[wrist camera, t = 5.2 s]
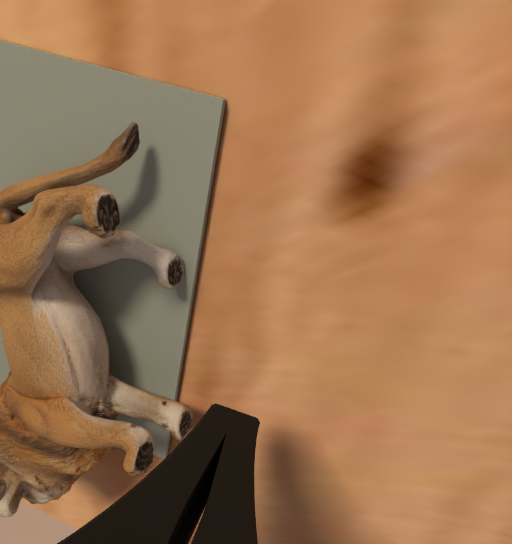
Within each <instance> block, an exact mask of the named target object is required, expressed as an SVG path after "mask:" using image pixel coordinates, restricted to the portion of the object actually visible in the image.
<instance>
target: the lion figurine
mask: <svg viewBox="0 0 512 544" xmlns="http://www.w3.org/2000/svg"><path fill="white" fill-rule="evenodd" d="M139 144H140V139H139V130H138V124H137V123H135V122H131V123H130V125H129V126H128V128H127V129H126V130H125V131H124V132H123V133H122V134H121V135H120V136H119V137H117V138H116V139H115V140H114V141H113V142H112V144H111V145H110V146H109V148H108V149H107V150H106V151H105V152H104V153H103V154H101V155H100V156H98V157H96V158H95V159H93V160H91V161H89V162H87V163H86V164H83V165H80V166H77V167H74V168H70V169H66V170H62V171H58V172H54V173H50V174H46V175H42V176H38V177H34V178H31V179H28V180H25V181H22V182H19V183H16V184H14V185H11V186H9V187H6V188H5V189H3V190H2V191H0V326H1V330H2V336H3V345H4V349H5V352H6V356H7V360H8V363H9V367H10V372H9V374H8V378H7V379H6V380H5V381H4V382H3V383H2V384H1V386H0V516H1V517H10V516H13V515H14V514H15V513H16V512H17V509H18V506H19V503H20V500H21V499H22V498H25V499H27V500H28V501H29V502H30V503H32V504H36V503H39V504H45V503H47V502H49V501H51V500H57V499H59V498H60V497H61V496H62V495H63V494H65V493H67V492H68V491H69V490H70V489H71V486H72V484H73V483H74V482H75V481H76V480H77V479H78V478H79V477H80V476H81V475H82V474H83V473H86V472H87V471H89V470H90V469H92V468H93V467H94V466H95V465H96V464H98V463H100V462H101V460H102V459H103V458H104V457H105V455H106V454H108V453H110V451H111V449H112V448H119V449H122V450H124V451H125V452H126V455H125V459H124V462H123V468H124V470H125V471H126V472H127V473H128V474H129V475H130V476H137V475H139V474H142V473H145V472H146V471H147V469H148V467H149V466H150V464H151V462H152V459H153V451H154V444H153V438H152V436H151V434H150V432H149V431H148V430H147V429H145V428H143V427H141V426H138V425H134V424H132V423H128V422H124V421H117V420H116V417H117V415H124V416H127V417H133V418H143V419H149V420H151V421H153V422H155V423H156V424H157V425H158V426H160V427H161V428H162V429H164V430H166V431H169V432H171V435H172V437H173V438H174V439H175V440H181V439H183V438H184V437H185V436H186V435H187V434H188V433H189V430H190V428H191V426H192V421H193V412H192V410H191V408H189V407H188V406H186V405H184V404H182V403H179V402H177V401H174V400H171V399H167V398H164V397H160V396H157V395H154V394H151V393H149V392H146V391H143V390H141V389H139V388H136V387H134V386H131V385H129V384H127V383H125V382H123V381H121V380H119V379H117V378H116V377H114V376H112V375H110V374H109V349H108V343H107V338H106V334H105V332H104V329H103V326H102V323H101V320H100V318H99V317H98V315H97V314H96V313H95V311H94V310H93V308H92V307H91V305H90V304H89V303H88V301H87V300H86V299H85V297H84V296H83V295H82V294H81V293H80V291H79V290H78V289H77V288H76V286H75V284H74V281H73V274H74V273H75V272H77V271H79V270H85V269H91V268H95V267H98V266H101V265H104V264H107V263H109V262H112V261H115V260H118V259H123V258H129V259H135V260H139V261H141V262H144V263H146V264H148V265H149V266H151V267H152V268H153V270H154V271H155V274H156V278H157V282H158V284H159V285H160V286H161V287H163V288H166V289H172V288H174V287H175V286H176V285H178V284H179V283H180V282H181V281H182V279H183V274H184V266H183V262H182V260H181V258H180V257H179V255H177V254H176V253H175V252H173V251H171V250H169V249H167V248H164V247H161V246H158V245H155V244H153V243H151V242H149V241H147V240H146V239H144V238H142V237H140V236H139V235H137V234H135V233H133V232H131V231H120V232H116V231H117V229H118V227H119V225H120V221H121V216H120V209H119V205H118V203H117V200H116V198H115V196H114V195H113V194H112V193H111V192H110V191H109V190H107V189H105V188H103V187H100V186H98V185H93V184H85V185H80V184H83V183H86V182H88V181H91V180H93V179H95V178H98V177H100V176H102V175H105V174H107V173H110V172H112V171H114V170H116V169H117V168H118V167H120V166H121V165H122V164H123V163H125V162H126V161H127V160H129V159H130V158H131V157H132V156H133V155H134V153H135V152H136V151H137V150H138V147H139ZM32 201H33V203H32V206H31V209H30V210H29V211H28V212H27V213H23V211H22V210H21V209H19V208H18V207H20V206H22V205H25V204H27V203H30V202H32ZM78 214H81V215H82V218H83V222H84V224H85V226H86V228H87V230H86V229H83V228H81V227H78V226H75V225H73V224H70V223H68V222H69V221H70V220H71V219H72V218H73V217H74V216H75V215H78ZM115 232H116V233H115Z"/></svg>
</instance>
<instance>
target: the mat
mask: <svg viewBox="0 0 512 544" xmlns="http://www.w3.org/2000/svg"><path fill="white" fill-rule="evenodd" d="M225 103H226V99H224V98H220V97H217V96H213V95H209V94H205V93H201V92H198V91H194V90H190V89H186V88H182V87H178V86H175V85H171V84H167V83H163V82H159V81H155V80H152V79H148V78H144V77H140V76H136V75H133V74H129V73H125V72H121V71H117V70H113V69H110V68H106V67H102V66H98V65H94V64H91V63H87V62H83V61H79V60H75V59H71V58H68V57H64V56H60V55H56V54H52V53H48V52H45V51H41V50H37V49H33V48H29V47H26V46H22V45H18V44H14V43H10V42H6V41H3V40H0V191H2V190H3V189H5V188H6V187H9V186H11V185H14V184H16V183H19V182H22V181H25V180H28V179H31V178H34V177H38V176H42V175H46V174H50V173H54V172H58V171H62V170H66V169H70V168H74V167H77V166H80V165H83V164H86V163H87V162H89V161H91V160H93V159H95V158H96V157H98V156H100V155H101V154H103V153H104V152H105V151H106V150H107V149H108V148H109V146H110V145H111V144H112V142H113V141H114V140H115V139H116V138H117V137H119V136H120V135H121V134H122V133H123V132H124V131H125V130H126V129H127V128H128V126H129V125H130V123H131V122H135V123H137V124H138V130H139V139H140V144H139V147H138V150H137V151H136V152H135V153H134V155H133V156H132V157H131V158H130V159H129V160H127V161H126V162H125V163H123V164H122V165H121V166H120V167H118V168H117V169H116V170H114V171H112V172H110V173H107V174H105V175H102V176H100V177H98V178H95V179H93V180H91V181H88V182H86V183H83V184H80V185H85V184H93V185H98V186H100V187H103V188H105V189H107V190H109V191H110V192H111V193H112V194H113V195H114V196H115V198H116V200H117V203H118V205H119V209H120V216H121V221H120V225H119V227H118V229H117V231H116V232H120V231H131V232H133V233H135V234H137V235H139V236H140V237H142V238H144V239H146V240H147V241H149V242H151V243H153V244H155V245H158V246H161V247H164V248H167V249H169V250H171V251H173V252H175V253H176V254H177V255H179V257H180V258H181V260H182V262H183V266H184V274H183V279H182V281H181V282H180V283H179V284H178V285H176V286H175V287H174V288H172V289H166V288H163V287H161V286H160V285H159V284H158V282H157V278H156V274H155V271H154V270H153V268H152V267H151V266H149V265H148V264H146V263H144V262H141V261H139V260H135V259H129V258H123V259H118V260H115V261H112V262H109V263H107V264H104V265H101V266H98V267H95V268H91V269H85V270H79V271H77V272H75V273H74V274H73V281H74V284H75V286H76V288H77V289H78V290H79V291H80V293H81V294H82V295H83V296H84V297H85V299H86V300H87V301H88V303H89V304H90V305H91V307H92V308H93V310H94V311H95V313H96V314H97V315H98V317H99V318H100V320H101V323H102V326H103V329H104V332H105V334H106V338H107V343H108V349H109V374H110V375H112V376H114V377H116V378H117V379H119V380H121V381H123V382H125V383H127V384H129V385H131V386H134V387H136V388H139V389H141V390H143V391H146V392H149V393H151V394H154V395H157V396H160V397H164V398H167V399H171V400H174V401H176V400H177V394H178V388H179V382H180V376H181V370H182V364H183V358H184V352H185V346H186V340H187V334H188V328H189V322H190V316H191V310H192V303H193V297H194V291H195V285H196V279H197V273H198V267H199V261H200V255H201V249H202V243H203V237H204V231H205V225H206V219H207V212H208V206H209V200H210V194H211V188H212V182H213V176H214V170H215V164H216V158H217V152H218V146H219V140H220V134H221V128H222V121H223V115H224V109H225ZM32 203H33V201H32V202H30V203H27V204H25V205H22V206H20V207H18V208H19V209H21V210H22V211H23V213H27V212H28V211H29V210H30V209H31V206H32ZM68 223H70V224H73V225H75V226H78V227H81V228H83V229H86V230H87V228H86V226H85V224H84V222H83V218H82V215H81V214H78V215H75V216H74V217H73V218H72V219H71V220H70V221H69V222H68ZM116 232H115V233H116ZM9 372H10V367H9V363H8V360H7V356H6V352H5V349H4V345H3V336H2V330H1V326H0V386H1V384H2V383H3V382H4V381H5V380H6V379H7V378H8V374H9ZM116 420H117V421H124V422H128V423H132V424H134V425H138V426H141V427H143V428H145V429H147V430H148V431H149V432H150V434H151V436H152V438H153V444H154V451H153V455H154V456H157V457H160V458H162V459H165V458H166V456H167V455H168V449H169V443H170V437H171V432H169V431H166V430H164V429H162V428H161V427H160V426H158V425H157V424H156V423H155V422H153V421H151V420H149V419H143V418H133V417H127V416H124V415H117V417H116Z"/></svg>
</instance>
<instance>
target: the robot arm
mask: <svg viewBox="0 0 512 544" xmlns="http://www.w3.org/2000/svg"><path fill="white" fill-rule="evenodd" d="M259 424H260V422H259V420H258V419H257V418H256V417H253V416H250V415H247V414H244V413H241V412H238V411H236V410H233V409H230V408H227V407H224V406H221V405H218V404H214V405H211V407H210V408H209V410H208V411H207V413H206V414H205V415H204V416H203V418H202V419H201V420H200V422H199V423H198V424H197V425H196V426H195V428H194V429H193V430H192V431H191V432H190V433H189V434H188V435H187V437H186V438H185V439H184V440H183V441H182V442H181V443H180V444H179V445H178V446H177V447H176V448H175V449H174V450H173V451H172V452H171V453H170V454H169V455H168V456H167V457H166V458H165V459H164V460H163V461H162V462H161V463H160V464H159V465H158V466H157V467H156V468H155V469H153V470H152V471H151V472H150V473H149V474H148V475H147V476H146V477H145V478H144V479H143V480H142V481H140V482H139V483H138V484H137V485H136V486H135V487H133V488H132V489H131V490H130V491H129V492H127V493H126V494H125V495H124V496H123V497H121V498H120V499H119V500H118V501H116V502H115V503H114V504H113V505H111V506H110V507H109V508H107V509H106V510H105V511H103V512H102V513H101V514H99V515H98V516H97V517H95V518H94V519H92V520H91V521H90V522H88V523H87V524H86V525H84V526H83V527H81V528H80V529H79V530H77V531H76V532H74V533H73V534H71V535H70V536H68V537H67V538H65V539H64V540H62V541H61V542H59V543H57V544H188V543H189V540H190V538H191V536H192V534H193V532H194V530H195V528H196V526H197V523H198V521H199V519H200V517H201V515H202V513H203V511H204V513H203V516H202V518H201V521H200V523H199V526H198V528H197V531H196V533H195V536H194V538H193V541H192V543H191V544H258V542H257V531H256V518H255V500H254V461H255V447H256V438H257V432H258V427H259ZM205 506H206V507H205ZM204 508H205V510H204Z"/></svg>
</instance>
